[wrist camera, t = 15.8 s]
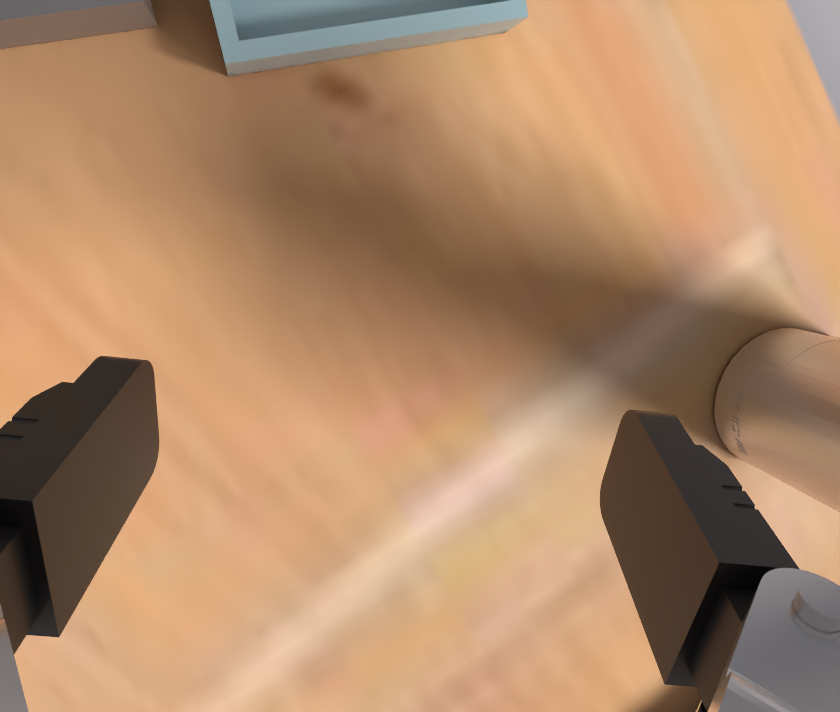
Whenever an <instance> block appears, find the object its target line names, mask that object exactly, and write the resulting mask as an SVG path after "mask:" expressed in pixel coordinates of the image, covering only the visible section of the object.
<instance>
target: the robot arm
mask: <svg viewBox="0 0 840 712" xmlns="http://www.w3.org/2000/svg"><path fill="white" fill-rule="evenodd" d="M714 416H715V422H716V428H717V431H718V433H719V436H720V438H721V440H722V442H723V443H724V445H725V446H726V447H727V449H728V450H729V451H730V452H731V453H733V454H734V455H735V456H737V457H738V458H740V459H741V460H743V461H745V462H747V463H749V464H751V465H753V466H755V467H756V468H758V469H760V470H762V471H764V472H766V473H768V474H770V475H771V476H773V477H775V478H777V479H779V480H781V481H782V482H784V483H786V484H788V485H790V486H792V487H793V488H795V489H797V490H799V491H801V492H803V493H805V494H807V495H808V496H810V497H812V498H814V499H816V500H818V501H820V502H822V503H823V504H825V505H827V506H829V507H831V508H833V509H835V510H837V511H838V512H840V338H838V337H833V336H827V335H822V334H818V333H814V332H809V331H805V330H801V329H796V328H779V329H775V330H771V331H768V332H766V333H764V334H762V335H760V336H758V337H756V338H754V339H753V340H751V341H750V342H749V343H747V344H746V345H745V346H744V347H742V349H741V350H740V351H739V352H738V353H737V354H736V355H735V356H734V357H733V359H732V360H731V362H730V363H729V365H728V366H727V368H726V370H725V371H724V373H723V376H722V378H721V380H720V383H719V385H718V389H717V393H716V398H715V410H714ZM158 451H159V430H158V417H157V405H156V392H155V379H154V371H153V367H152V365H151V363H150V362H149V361H147V360H139V359H129V358H119V357H109V356H100V357H98V358H97V359H95V360H94V362H93V363H92V364H91V365H90V366H89V367H88V368H87V369H86V370H85V371H84V372H83V373H82V374H81V375H80V377H79V378H78V379H77V380H76V381H75V382H74V383H67V382H61V383H59V384H57V385H56V386H54V387H52V388H50V389H48V390H46V391H44V392H42V393H40V394H38V395H36V396H34V397H32V398H31V399H30V400H29V401H28V402H27V403H26V404H25V405H24V406H23V407H22V408H21V409H20V410H19V411H18V412H17V413H16V414H15V415H14V416H13V417H12V421H8V422H7V423H6V424H5V425H4V426H3V427H2V428H1V429H0V712H28V709H27V705H26V701H25V697H24V693H23V689H22V685H21V681H20V677H19V673H18V669H17V666H16V662H15V658H14V654H15V652H16V651H17V649H18V647H19V646H20V644H21V643H22V641H23V639H24V638H25V636H26V635H36V636H50V637H59V636H60V635H61V633H62V631H63V629H64V628H65V626H66V624H67V622H68V621H69V619H70V617H71V616H72V614H73V612H74V610H75V609H76V607H77V605H78V603H79V602H80V600H81V598H82V596H83V595H84V593H85V591H86V589H87V588H88V586H89V584H90V582H91V581H92V579H93V577H94V575H95V574H96V572H97V570H98V568H99V567H100V565H101V563H102V562H103V560H104V558H105V556H106V555H107V553H108V551H109V549H110V548H111V546H112V544H113V542H114V541H115V539H116V537H117V535H118V534H119V532H120V530H121V528H122V527H123V525H124V523H125V521H126V520H127V518H128V516H129V514H130V513H131V511H132V509H133V508H134V506H135V504H136V502H137V501H138V499H139V497H140V495H141V494H142V492H143V490H144V488H145V487H146V485H147V483H148V481H149V480H150V478H151V476H152V474H153V471H154V469H155V466H156V462H157V457H158ZM754 506H755V505H754V503H753V502H752V500H751V499H750V497H749V496H748V495H747V493H746V492H745V491H742V486H741V485H740V483H739V482H738V480H737V479H736V477H735V476H734V475H733V473H732V472H731V470H730V469H729V467H728V466H727V465H726V464H725V463H724V462H722V461H721V460H720V459H719V458H717V457H716V456H715V455H714V454H712V453H711V452H710V451H709V450H707V449H706V448H705V447H704V446H702V445H695V444H694V443H693V441H692V440H691V438H690V437H689V435H688V434H687V432H686V431H685V429H684V427H683V426H682V424H681V423H680V421H679V420H678V418H677V417H676V416H675V415H673V414H668V413H658V412H648V411H638V410H628V411H627V412H626V413H625V414H624V415H623V417H622V419H621V422H620V425H619V428H618V432H617V435H616V438H615V441H614V445H613V448H612V451H611V454H610V457H609V461H608V464H607V467H606V470H605V473H604V477H603V480H602V484H601V490H600V508H601V514H602V518H603V521H604V523H605V526H606V529H607V531H608V534H609V537H610V539H611V542H612V545H613V547H614V550H615V553H616V555H617V558H618V561H619V563H620V566H621V569H622V572H623V574H624V577H625V580H626V582H627V585H628V588H629V590H630V593H631V596H632V598H633V601H634V604H635V606H636V609H637V612H638V614H639V617H640V620H641V622H642V625H643V628H644V630H645V633H646V636H647V638H648V641H649V644H650V646H651V649H652V652H653V654H654V657H655V660H656V662H657V665H658V668H659V670H660V673H661V676H662V678H663V681H664V684H666V685H680V686H693V687H696V688H697V690H698V692H699V695H700V697H701V702H700V704H699V706H698V708H697V710H696V712H840V586H839V585H837V584H836V583H834V582H832V581H830V580H828V579H826V578H824V577H821V576H819V575H817V574H814V573H811V572H808V571H804V570H800V569H799V568H798V566H797V565H796V564H795V562H794V561H793V559H792V558H791V556H790V555H789V553H788V552H787V551H786V549H785V548H784V546H783V545H782V543H781V542H780V541H779V539H778V538H777V536H776V535H775V533H774V532H773V531H772V529H771V528H770V526H769V525H768V523H767V522H766V520H765V519H764V518H763V516H762V515H761V513H760V512H759V510H755V508H754Z"/></svg>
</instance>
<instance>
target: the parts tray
mask: <svg viewBox="0 0 840 712" xmlns="http://www.w3.org/2000/svg"><path fill="white" fill-rule="evenodd" d="M209 2H210V6H211V10H212V14H213V18H214V22H215V26H216V30H217V34H218V38H219V42H220V46H221V50H222V54H223V58H224V62H225V66H226V70H227V74H228V76H235V75H241V74H247V73H254V72H260V71H266V70H273V69H279V68H285V67H292V66H298V65H304V64H311V63H317V62H323V61H330V60H336V59H342V58H349V57H355V56H361V55H367V54H374V53H380V52H386V51H393V50H399V49H405V48H412V47H418V46H424V45H431V44H437V43H443V42H450V41H456V40H462V39H469V38H475V37H481V36H487V35H494V34H500V33H505V32H507V31H508V30H510V29H511V28H513V27H514V26H516V25H517V24H518V23H520V22H521V21H523V20H524V19H526V18H527V17H528V13H527V5H526V0H209Z"/></svg>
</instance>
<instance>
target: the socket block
mask: <svg viewBox="0 0 840 712" xmlns="http://www.w3.org/2000/svg"><path fill="white" fill-rule="evenodd" d="M153 27H158V25H157V21H156V18H155V14H154V10H153V7H152V3H151V0H0V49H5V48H12V47H19V46H26V45H33V44H40V43H47V42H54V41H61V40H68V39H76V38H83V37H90V36H97V35H104V34H111V33H118V32H125V31H132V30H139V29H146V28H153Z"/></svg>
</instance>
